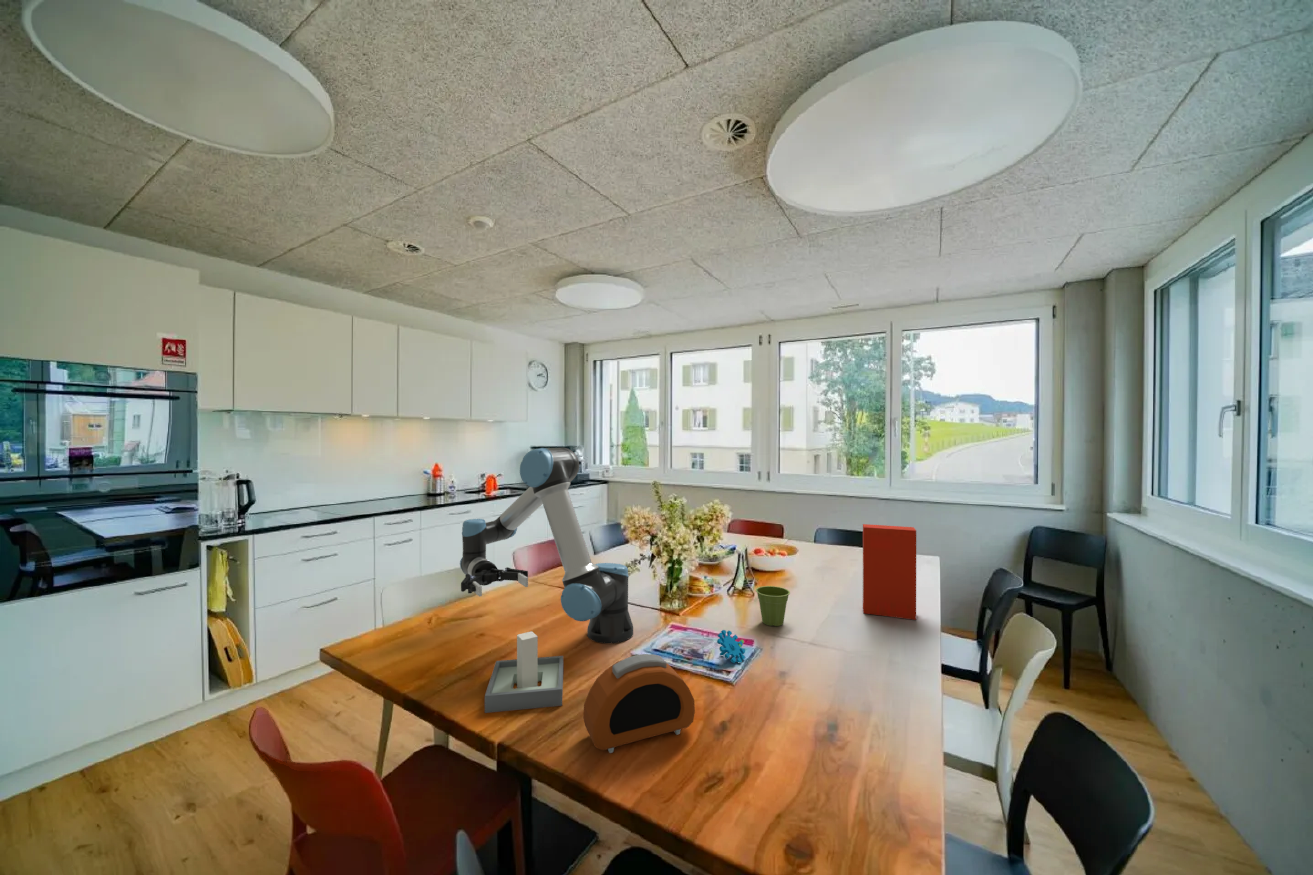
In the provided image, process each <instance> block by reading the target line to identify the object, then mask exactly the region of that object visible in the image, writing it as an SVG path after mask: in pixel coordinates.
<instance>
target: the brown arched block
mask: <svg viewBox="0 0 1313 875" xmlns="http://www.w3.org/2000/svg"><path fill="white" fill-rule="evenodd" d="M588 691H589V692H588V693H587V697H586V698H585V701H584V703H583V715H582V716H583V721H584V726H585V729H586V731H587V733H588V734H589V738H590V740H591V741H592V743H593V746H594V747H595V748H596V749H598V750H600V751H606V750H607V751H608V753H609V754H612V753H614V751H615V747H616V748H617V747H620V746H624V745H627V744H632V743H636V742H638V741H639V742H640V741H642V740H646V739H649V738H654V737H657V736H660V735H661V736H662V735H664V734H668V733H672V732H674V733H675V735H676V736H677V735H680V734H681V730H683V729H686V728H689V727H690V726H691V725H692V724H693V722H694V719H695V713H696V710H695V708H696V707H695V699H694V695H693V694H692V692H691V689H690V688H689V686H688V684H687V683H686V681H685V680H684V679H683V678H682V677H681V676H680V675H679V673H677V672H676V670H674V668H673V667H671V665H670V664H668V663H667V661H666V660H665V659H664V658H663V657H662V656H661V655H657V654H650V653H649V654H647V653H646V654H645V653H644V654H636V655H633V656H628V657H626V658H624V659H621V660H618V661H616V662H615V663H613V664H612V665H611V666H609V667H608V668H606V669H605V670H604V671H603V672H602V673H601V674H600V675H599V676H598V677H596V679H595V681H594V683H593V684H592V686H590V688H589V690H588Z"/></svg>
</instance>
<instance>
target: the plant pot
mask: <svg viewBox="0 0 1313 875" xmlns="http://www.w3.org/2000/svg"><path fill="white" fill-rule="evenodd" d="M755 592H756V594H757V598H758V602H759V608H760V615H761V621H762V623H763V624H764V625H766V626H768V627H769V626H770V627H772V626H774V627H781V626H783V625H784V623H785V617H786V616H785V615H786V610H787V604H788V603H787V602H788V599H789V595H790V594H791V591H790V590H789V589H787V588H785V587H781V586H775V585H774V586H773V585H766V586H765V585H764V586H759V587H757V588H755Z"/></svg>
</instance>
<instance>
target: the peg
mask: <svg viewBox="0 0 1313 875" xmlns="http://www.w3.org/2000/svg"><path fill="white" fill-rule="evenodd" d="M538 638H539V637H538V635H537V634H535V633H534V632H533V631H532V630H531V631H527V632H523V633H519V634H517V635H516V659H517V683H516V688H526V687H537V686H539V685H538V684H539V683H538V682H539V681H538V658H539V657H538V653H539V652H538V651H539V650H538V649H539V646H538V645H539V644H538V641H539V640H538Z"/></svg>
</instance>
